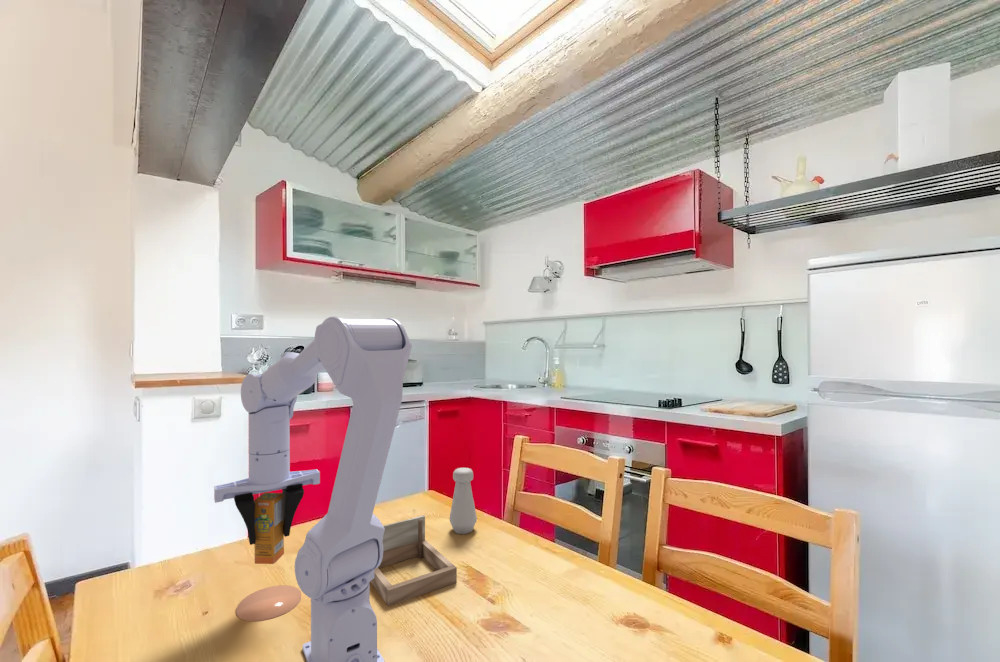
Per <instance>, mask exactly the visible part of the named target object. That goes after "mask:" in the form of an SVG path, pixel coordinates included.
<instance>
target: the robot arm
mask: <svg viewBox="0 0 1000 662" xmlns="http://www.w3.org/2000/svg"><path fill="white" fill-rule="evenodd" d="M411 351H412V343H411V340H410V339H409V336H408V334H407V332H406V329H405V327H404V326H403V324H402V323H401V322H400V321H399V320H398V319H396V318H393V317H391V318H384V319H383V318H381V319H380V318H352V317H349V318H348V317H338V316H329V317H327V318H326V319H324V320H323V322H321V323H320V324H318V325H316V328H315V332H314V339H313V340H311V342H310V343H309V344H308V345H307V346H305V348H304V349H303V350H302V351H301V352H299V353H298V352H294V351H293V352H292V351H291V352H287V351H285V352H284V353H282V354H281V355H280V357H281V358H280V359H279V360H278V361H276V362H275V363H273V364H272V365H269V366H268V367H267V369H266V370H265V371H263V372H262V373H259V374H256V373H247V374H246V376H245V377H244V378H243V379H242V382H241V386H240V398H241V405H242V406H243V408H244V410H245V411H246V412H247V413H248V415H247V416H248V478H244V479H240V480H237V481H231V482H228V483H224V484H218V485H214V486H213V488H214V489H213V490H214V491H213V496H214V499H213V500H214V503H215V504H217V503H220V502H221V503H222V502H223V501H225V500H230V499H231V500H232V499H233V500H234V504H235V506H236V509H237V510H238V512H239V514H240V515H241V518H242V519H243V521H244V524H245V526H246V529H247V534H248V543H249V545H251V546H252V545H254V544H255V542H256V536H255V525H254V519H255V502H254V500H255V497H254V495H258V494H264V493H265V492H266V493H270V492H274V491H279V490H281V493H283V522H284V526H283V534H284V538H286V537H289V536H290V535H291V534H290V533H291V528H292V525H293V520H294V517H295V514H296V512H297V509H298V507H299V505H300V503H301V501H302V500H303V497H304V496H305V495H304V494H305V490H304V486H308V485H314V486H315V485H319V484H321V471H320V470H318V469H317V468H316V469H315V468H314V469H308V470H307V469H306V470H296V471H291V470H290V469H291V468H290V467H291V458H290V457H291V454H290V453H291V450H290V446H291V445H290V442H291V441H290V439H291V438H290V437H291V435H290V434H291V433H290V431H291V429H290V428H291V427H290V425H291V424H290V422H291V421H290V420H291V419H292V418H293V417H294V408H295V405H296V402H297V400H298V396H299V395H300V394H302V393H303V392H305V391H306V390H308V389H309V388H311V387H312V386H313V385H315V382H316V381H317V376H318V374H319V373H320V372H322V371H323V370H325V372H327V375H328V376H329V378H330V379H331V381H332V382H333V384H334V386H335V387H336V389H337V391H338V392H339V394H341V395H343V396H346V397H348V398H350V399H351V401H352V406H351V407H352V408H351V411H350V415H349V416H350V417H349V419H348V425H347V428H346V433H345V437H344V441H343V445H342V449H341V453H340V459H339V463H338V468H337V472H336V476H335V480H334V483H333V484H334V485H333V488H332V492H331V497H330V501H329V505H328V510H327V513H326V514H325V515H324V516H323V517H322V518H321V519H320V520H319V521H318V522H317V523H316V524H314V525H313V527H312V528H310V530H308V532H307V533H306V534H305V539H304V542H303V544H302V546H301V547H300V548H299V549H298V551H297V553H296V557H295V560H294V574H295V575H294V576H295V579H296V582H297V585H298V588H299V590H300V592H301V593H303V594H304V595H305V596H307V597H308V598H309V599H310V641H307V642H305V643H303V644H302V651H303V653H304V657H305V659H306V662H385V661H386V660H385V659H384V656H383V655H382V654H381V652H380V651H379V648H378V620H377V615H376V613H375V611H374V609H373V607H372V605H371V602H370V598H371V597H370V592H371V591H370V586H371V585H370V584H371V582H370V581H371V580H372V579H374V569H376V568H378V567H379V565H380V564H381V562H382V558H383V534H384V531H385V528H384V527H383V523H382V522H381V520H380V519H379V517H377V515H375V514H374V509H375V506H376V502H377V499H378V498H377V497H378V496H379V495H378V494H379V491H380V488H381V487H380V486H381V482H382V479H383V474H384V470H385V467H386V464H387V460H388V456H389V455H388V454H389V452H390V447H391V443H392V440H393V436H394V433H395V429H396V424H397V420H398V416H399V413H400V408H401V407H402V406H401V405H402V400H403V390H404V389H403V384H404V379H405V374H406V371H407V366H408V362H409V359H410V355H411ZM378 569H379V568H378Z"/></svg>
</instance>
